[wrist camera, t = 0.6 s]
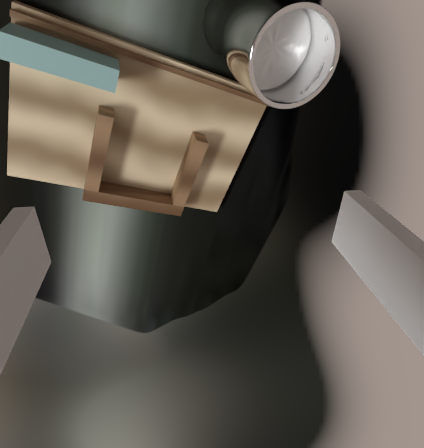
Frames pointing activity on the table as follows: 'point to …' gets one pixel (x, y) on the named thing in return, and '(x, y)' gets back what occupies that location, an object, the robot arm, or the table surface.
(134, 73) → the board
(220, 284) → the table surface
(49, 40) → the block
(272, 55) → the beer glass
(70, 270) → the table surface
